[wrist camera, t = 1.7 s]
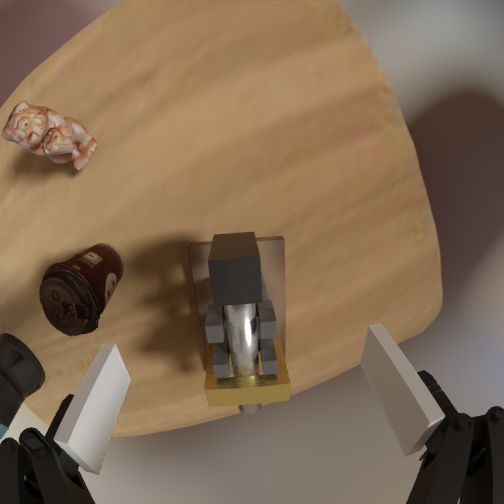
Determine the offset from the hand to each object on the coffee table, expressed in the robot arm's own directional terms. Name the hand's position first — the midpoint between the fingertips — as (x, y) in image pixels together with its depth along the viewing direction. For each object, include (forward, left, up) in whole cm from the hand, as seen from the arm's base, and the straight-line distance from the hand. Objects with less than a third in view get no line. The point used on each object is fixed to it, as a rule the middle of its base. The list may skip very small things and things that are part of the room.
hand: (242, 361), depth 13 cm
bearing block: (0, -12, -24) cm, 27 cm away
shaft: (0, -9, -16) cm, 18 cm away
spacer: (0, -14, -18) cm, 23 cm away
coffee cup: (-19, -3, -24) cm, 31 cm away
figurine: (-19, +15, -24) cm, 34 cm away
